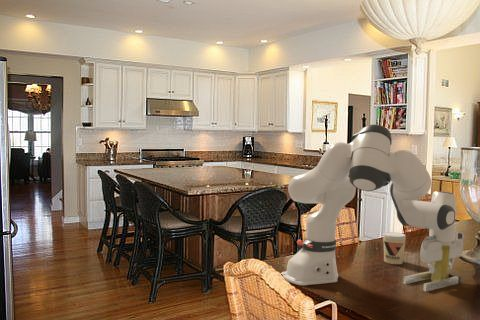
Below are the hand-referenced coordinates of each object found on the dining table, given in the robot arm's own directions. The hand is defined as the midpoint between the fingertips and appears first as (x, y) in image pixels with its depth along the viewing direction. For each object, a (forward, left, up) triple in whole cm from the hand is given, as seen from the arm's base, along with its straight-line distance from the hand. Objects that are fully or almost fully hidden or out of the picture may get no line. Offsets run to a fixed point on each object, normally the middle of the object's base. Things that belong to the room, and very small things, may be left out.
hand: (440, 271), depth 160 cm
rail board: (-5, 0, -4) cm, 7 cm away
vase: (0, 0, -4) cm, 4 cm away
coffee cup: (+5, +26, -4) cm, 27 cm away
